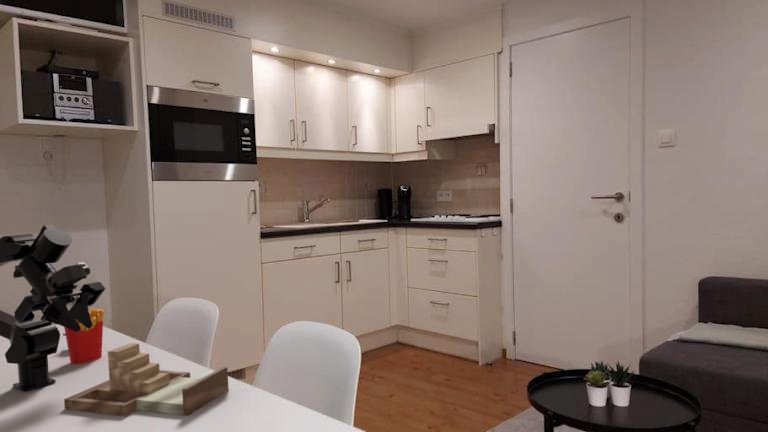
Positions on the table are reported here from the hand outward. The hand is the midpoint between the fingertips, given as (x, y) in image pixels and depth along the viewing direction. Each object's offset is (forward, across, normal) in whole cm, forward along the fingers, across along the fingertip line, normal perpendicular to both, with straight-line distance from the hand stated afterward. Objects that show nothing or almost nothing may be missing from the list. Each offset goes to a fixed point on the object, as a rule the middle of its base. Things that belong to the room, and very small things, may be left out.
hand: (85, 328), depth 115 cm
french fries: (-4, +18, +24) cm, 30 cm away
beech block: (+18, 0, -2) cm, 18 cm away
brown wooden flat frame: (+22, 0, -3) cm, 22 cm away
